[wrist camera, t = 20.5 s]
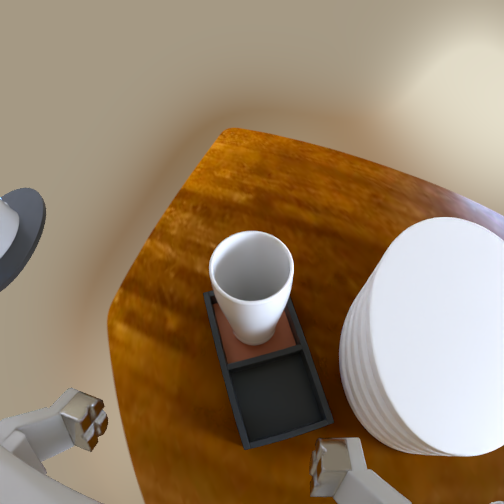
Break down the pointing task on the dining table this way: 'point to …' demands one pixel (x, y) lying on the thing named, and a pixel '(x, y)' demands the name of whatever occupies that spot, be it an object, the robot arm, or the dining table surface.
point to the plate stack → (430, 342)
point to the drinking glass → (252, 283)
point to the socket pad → (269, 380)
